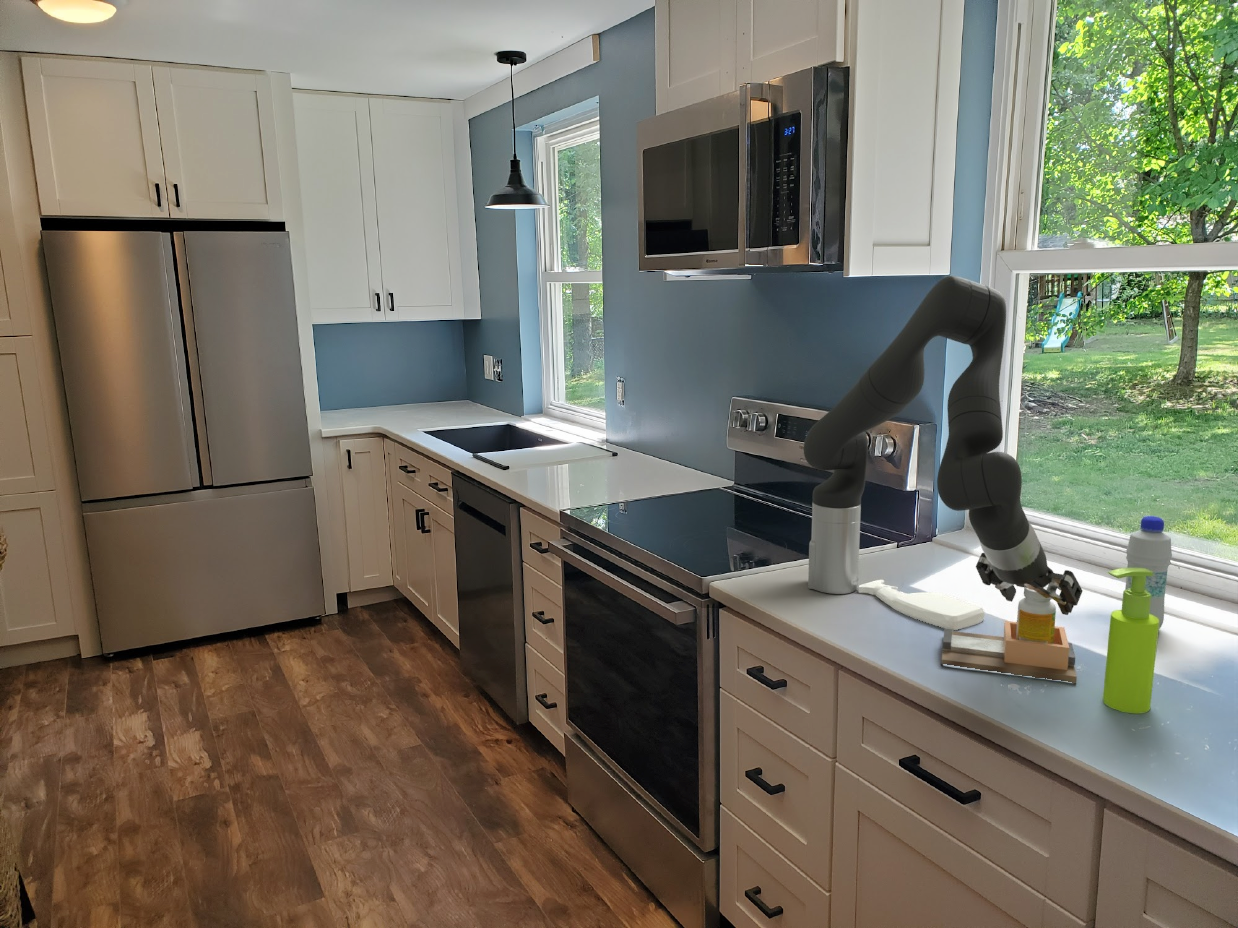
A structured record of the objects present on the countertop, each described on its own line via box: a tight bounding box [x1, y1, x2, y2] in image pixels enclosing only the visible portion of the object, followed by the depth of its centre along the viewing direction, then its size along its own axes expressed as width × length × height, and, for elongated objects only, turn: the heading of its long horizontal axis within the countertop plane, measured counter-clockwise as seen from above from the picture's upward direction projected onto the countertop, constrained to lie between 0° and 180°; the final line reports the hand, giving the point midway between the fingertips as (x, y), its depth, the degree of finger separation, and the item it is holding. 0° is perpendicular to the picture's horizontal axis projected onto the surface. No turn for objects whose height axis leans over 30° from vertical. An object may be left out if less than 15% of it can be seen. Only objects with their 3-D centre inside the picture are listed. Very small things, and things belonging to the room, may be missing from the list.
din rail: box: [942, 628, 1076, 667], centre depth 143 cm, size 19×6×2 cm, turn 68°
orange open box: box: [1002, 620, 1069, 670], centre depth 141 cm, size 9×9×4 cm
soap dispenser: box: [1102, 567, 1160, 715], centre depth 125 cm, size 6×7×20 cm
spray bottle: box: [858, 579, 986, 631], centre depth 167 cm, size 3×11×24 cm
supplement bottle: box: [1016, 586, 1057, 644], centre depth 140 cm, size 5×5×10 cm
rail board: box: [941, 630, 1078, 684], centre depth 143 cm, size 19×13×1 cm
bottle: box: [1124, 515, 1173, 631], centre depth 153 cm, size 7×7×20 cm
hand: (1039, 602), depth 140 cm, fingers open, 8 cm apart
